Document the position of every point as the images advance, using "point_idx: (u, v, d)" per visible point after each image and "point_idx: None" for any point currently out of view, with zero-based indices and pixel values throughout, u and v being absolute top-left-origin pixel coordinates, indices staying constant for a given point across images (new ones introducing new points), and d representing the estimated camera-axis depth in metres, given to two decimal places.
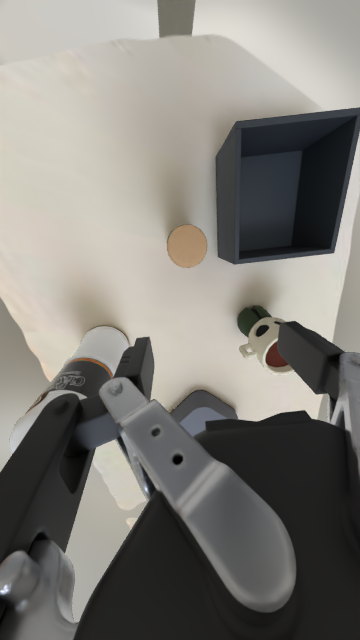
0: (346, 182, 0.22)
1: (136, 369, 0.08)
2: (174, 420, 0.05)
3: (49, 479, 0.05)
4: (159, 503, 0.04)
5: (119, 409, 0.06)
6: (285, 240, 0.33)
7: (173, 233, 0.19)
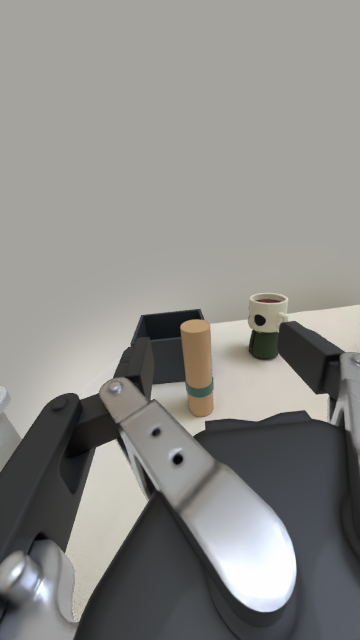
0: (167, 312, 0.46)
1: (136, 369, 0.08)
2: (174, 420, 0.05)
3: (49, 479, 0.05)
4: (159, 503, 0.04)
5: (119, 409, 0.06)
6: None
7: (185, 330, 0.25)
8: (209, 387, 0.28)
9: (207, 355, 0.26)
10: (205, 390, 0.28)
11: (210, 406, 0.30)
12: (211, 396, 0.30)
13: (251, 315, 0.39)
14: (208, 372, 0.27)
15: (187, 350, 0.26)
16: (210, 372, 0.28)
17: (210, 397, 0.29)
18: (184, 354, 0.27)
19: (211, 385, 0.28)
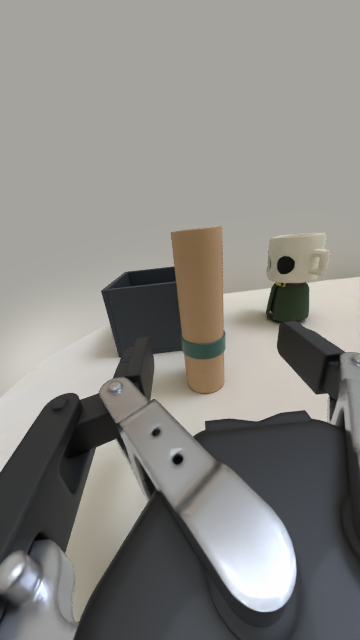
0: (159, 268, 0.35)
1: (136, 369, 0.08)
2: (174, 420, 0.05)
3: (49, 479, 0.05)
4: (159, 503, 0.04)
5: (119, 409, 0.06)
6: None
7: None
8: (219, 342, 0.17)
9: (218, 281, 0.15)
10: (213, 345, 0.17)
11: (220, 376, 0.19)
12: (222, 360, 0.19)
13: (273, 261, 0.28)
14: (217, 315, 0.16)
15: (182, 271, 0.15)
16: (221, 316, 0.17)
17: (220, 360, 0.18)
18: (178, 283, 0.16)
19: (222, 340, 0.18)
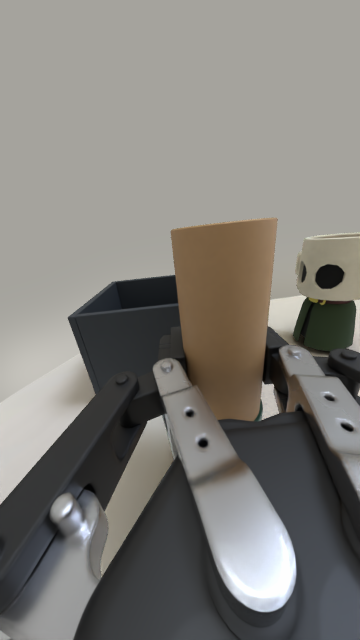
0: (156, 277, 0.27)
1: (180, 352, 0.09)
2: (209, 408, 0.06)
3: (102, 442, 0.06)
4: (180, 473, 0.05)
5: (165, 385, 0.07)
6: None
7: None
8: None
9: (263, 327, 0.08)
10: None
11: None
12: None
13: (309, 270, 0.21)
14: (257, 384, 0.09)
15: (193, 308, 0.07)
16: (261, 382, 0.09)
17: None
18: (184, 326, 0.08)
19: (260, 418, 0.10)
